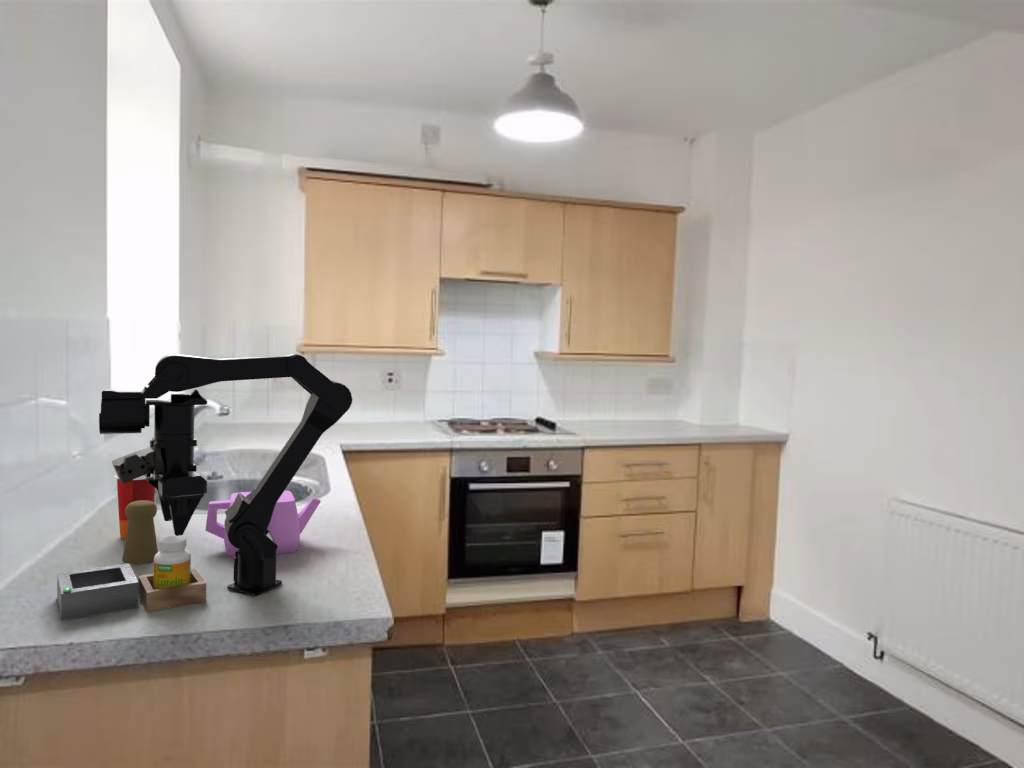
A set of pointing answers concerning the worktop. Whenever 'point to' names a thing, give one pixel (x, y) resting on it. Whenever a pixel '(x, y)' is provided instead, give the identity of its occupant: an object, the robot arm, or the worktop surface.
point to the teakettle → (282, 524)
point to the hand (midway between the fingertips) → (173, 527)
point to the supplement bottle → (172, 563)
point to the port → (96, 591)
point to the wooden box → (171, 592)
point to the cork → (140, 533)
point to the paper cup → (132, 497)
